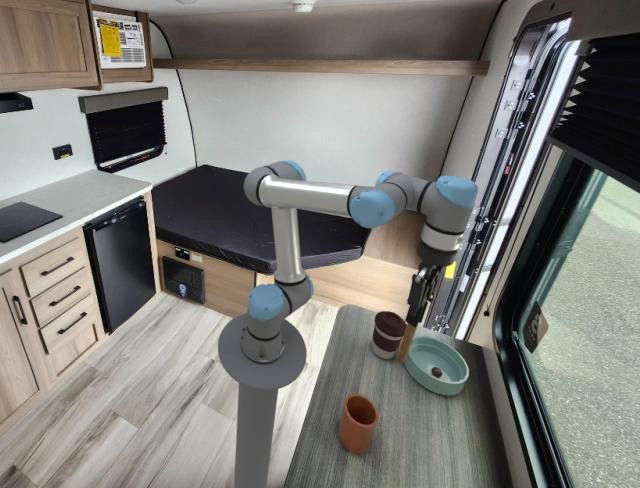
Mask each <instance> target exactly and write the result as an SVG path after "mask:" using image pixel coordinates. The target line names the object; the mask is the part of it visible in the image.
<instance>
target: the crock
mask: <svg viewBox="0 0 640 488" xmlns="http://www.w3.org/2000/svg"><path fill="white" fill-rule="evenodd" d="M378 422H379V412H378V410H377V407H376V405H375V404H374V402H373V401H372V400H371V399H370V398H368V397H367V396H364V395H362V394H360V393H352V394H349V395H348V396H347V397H345V400H344V403H343V407H342V410H341V416H340V419H339V423H338V426H337V427H338V428H337V433H338V437H339V440H340V442H341V444H342V445H343V446H344V447H345V449H347V450H349V451H350V452H352V453H355V454H363V453H365V452H367V451H368V450H369V448H370V446H371V443H372V441H373V437H374V434H375V431H376V428H377V424H378Z"/></svg>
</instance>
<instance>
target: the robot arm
mask: <svg viewBox="0 0 640 488" xmlns="http://www.w3.org/2000/svg"><path fill="white" fill-rule="evenodd" d="M243 192H244V194H245V197H246V198H247V199H248V201H250V202H251V203H252V204H254V205H257V206H259V207H260V206H261V207H264V208H265V207H266V208H271V209H270V210H271V219H272V231H273V239H274V248H275V250H274V251H275V260H276V269H275V270H274V272H273V283H267V284H265V283H261V284H258V285H257V286H255V287H253V289H252V290H250V293H249V295H248V299H247V300H248V301H247V311H246V313H247V327H246V328H243V331H244V332H243V334H242V337H241V349H242V352H243V353H244V355H245V356H246V357H247V358H248V359H249V360H251V361H252V362H254V363H258V364H270V363H273V362H275V361H277V360H278V359H279V358H280V357H281V355H282V353H283V349H284V342H283V338H282V335H281V331H280V327H281V322H282V321H283V320H284V319H287V318H288V317H289V316H290V315H291V316H292V314H294V313H296V311H298V310H299V309H300V308H302V307H303V306H305V305H306V304H307V303H308V302H309V301H310V300H311V299H312V298H313V295H314V291H315V289H314V288H315V287H314V283H313V280H312V279H310V278H311V277H310V275H309V274H308V273H307V272H306V270H305V269H304V268H303V267H302V260H301V259H302V258H301V245H300V235H299V221H298V220H299V219H298V209H299V210H303V211H310V212H315V213H321V214H327V215H331V216H339V217H343V218H350V219H353V221H354V222H355V223H357V224H358V225H359V226H361V227H362V228H366V229H375V228H379V227H381V226H384V225H387V223H389V222H390V221H391V220H393V219H394V218H395V217H397V216H399V214H401V213H403V212H404V211H406V210H410V211H413V212H416V213H420V214H423V215H425V217H426V219H425V221H424V224H423V226H422V230H421V233H420V239H419V241H418V245H417V247H416V255H417V256H418V257H419V259H420V260H421V261H422V262H419V264H418V267H417V269H418V270H417V273H413V274H412V276H411V285H410V289H409V293H408V298H407V299H406V304H407V305H409V307H408V310H407V312H406V316H405V320H404V321H405V323H406V324H408V323H409V324H410V325H412V326H414V327H415V328H416V327H417V328H418V326H417V325H419V324H421V323H422V322H423V319H424V317H425V314H426V310H427V308H428V305H429V303H433V302H434V299H433V298H432V297H433V296H435V293H436V291H437V287H438V285H439V282H440V280H441V278H442V275H443V273H444V270H445V268H446V267H450V266H452V265H453V264H454V262H455V260H456V257H457V254H458V249H459V248H460V245H461V243H465V242H466V241H465V238H464V237H463V236H464V234H465V232H466V229H467V226H468V224H469V221H470V218H471V216H472V213H473V210H474V208H475V206H476V200H477V196H478V193H479V186H478V185H477V183H476V182H474V181H473V180H470V179H468V178H466V177H461V176H454V175H441V176H439V178H438V179H437V181H431V180H426V179H423V178H420V177H416V176H413V175H409V174H405V173H403V172H401V171H393V170H385V171H382V172H381V174H380V175H379V176H378V178H377V180H376V181H375V185H374V186H370V185H358V184H345V183H335V182H323V181H311V180H307V175H306V173H305V171H304V169H303V168H302V166H300V165H299V164H298V162H296V161H294V160H289V159H286V160H278V161H276V162H272V163H270V164H266V165H263V166H259V167H256V168H254V169H252V170H251V171H250V172H248V173H247V175H246V177H245V178H244V181H243ZM425 297H427V299H426V302H425V305H424V306H422V305H423V303H424V300H425ZM423 307H424V308H423ZM422 310H423V311H422ZM421 313H422V314H421ZM420 316H421V317H420ZM419 319H420V320H419ZM418 322H419V323H418Z"/></svg>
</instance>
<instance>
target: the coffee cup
mask: <svg viewBox="0 0 640 488" xmlns="http://www.w3.org/2000/svg"><path fill="white" fill-rule="evenodd" d="M407 324H408V323H407V322H406V321H405V320H404V319H403V317H401V316H400V315H399V314H397V313H396V312H394V311H391V310H390V311H389V310H382V311H378V312H377V313H376V314H375V316H374V327H373V333H372V342H371V349H372V351H373V352H374V354H375V355H376V356H378V357H379V358H381V359H385V360H391V359H392V358H393V357H394V356H395V354H396V352H397V350H399V348H400V346H401V342H402V339H403V336H404V333H405V330H406V327H407Z"/></svg>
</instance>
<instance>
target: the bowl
mask: <svg viewBox="0 0 640 488" xmlns="http://www.w3.org/2000/svg"><path fill="white" fill-rule="evenodd" d="M403 364H404V367H405V368H406V370H407V373H409V375H410V376H411V377H412V378H413V379H414V380H415V381H416V382H417V383H418V384H419V385H421V386H422V387H423V388H425V389H427V390H429V391H431V392H433V393H435V394H438V395H442V396H446V397H447V396H456V395H458V394H460V393H461V392H462V391H463V389H464V387H465V385H466V383H467V380H468V379H469V377H470V369H469V366H468V363H467V362H466V360H465V359H464V358H463V356H462V355H461V354H460V353H459V352H458V351H457V350H456V349H455V348H454V347H452V346H451V345H450V344H448V343H446V342H444V341H442V340H440V339H438V338H435V337H432V336H427V335H416V336H414V337H413V340H412V343H411V346H410V349H409V352H408V355H407V358H406V361H405V362H404V363H403ZM433 367H438V368H439V369H440V370H441V371H442V376H441V377H440V378H437V377H435V376H433V374H432V372H431V369H432V368H433Z"/></svg>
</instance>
